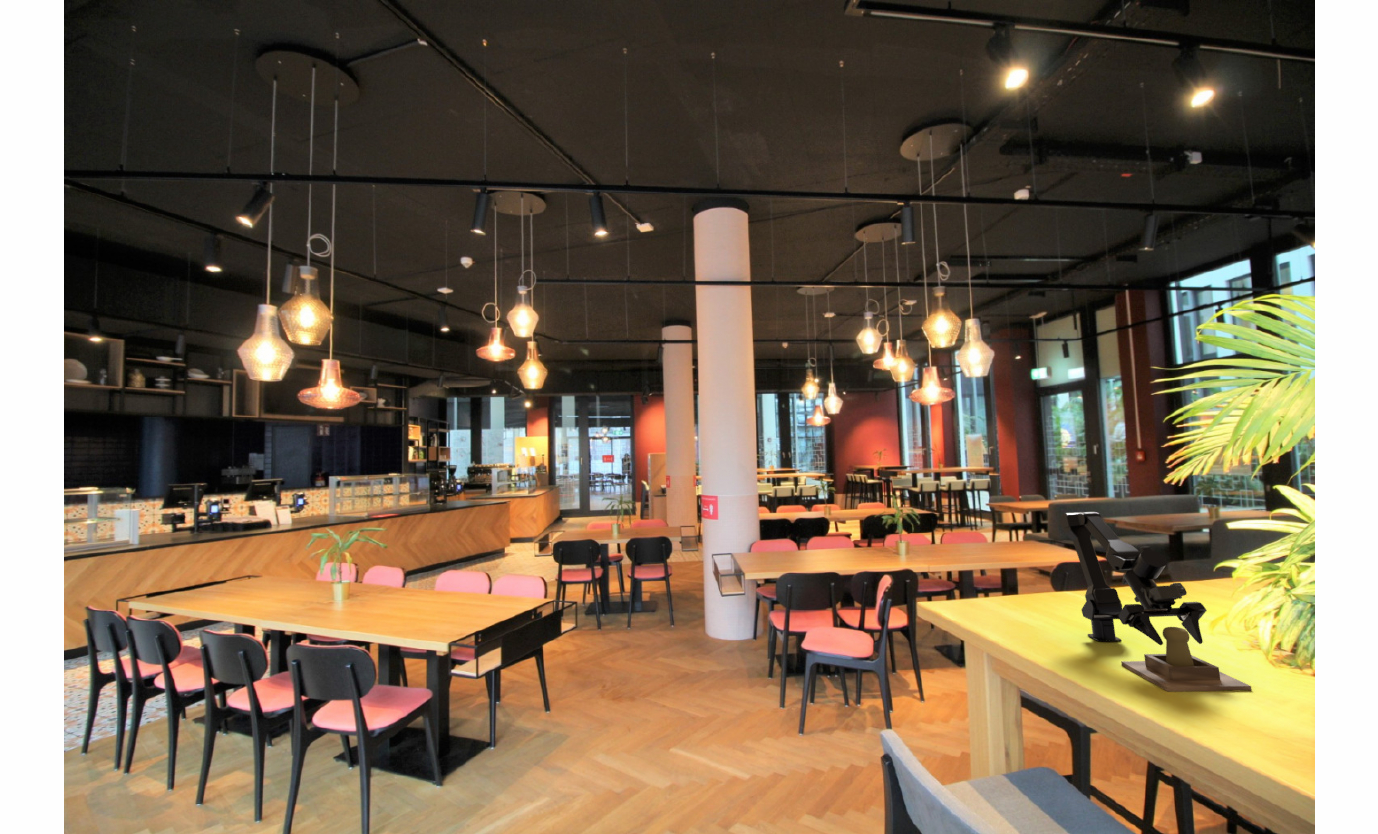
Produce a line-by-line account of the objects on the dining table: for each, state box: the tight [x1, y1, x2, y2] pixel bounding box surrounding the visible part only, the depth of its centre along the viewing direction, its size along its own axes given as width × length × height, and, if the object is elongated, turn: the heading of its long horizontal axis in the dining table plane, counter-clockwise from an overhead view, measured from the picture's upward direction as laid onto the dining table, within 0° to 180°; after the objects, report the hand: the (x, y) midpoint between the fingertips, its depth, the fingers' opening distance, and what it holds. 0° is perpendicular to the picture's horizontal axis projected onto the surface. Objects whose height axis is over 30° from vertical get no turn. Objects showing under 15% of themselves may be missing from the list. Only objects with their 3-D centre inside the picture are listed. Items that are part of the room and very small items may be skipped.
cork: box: [1162, 626, 1194, 666], centre depth 146 cm, size 6×6×11 cm
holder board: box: [1120, 653, 1253, 692], centre depth 145 cm, size 18×18×4 cm
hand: (1181, 643), depth 144 cm, fingers open, 9 cm apart
